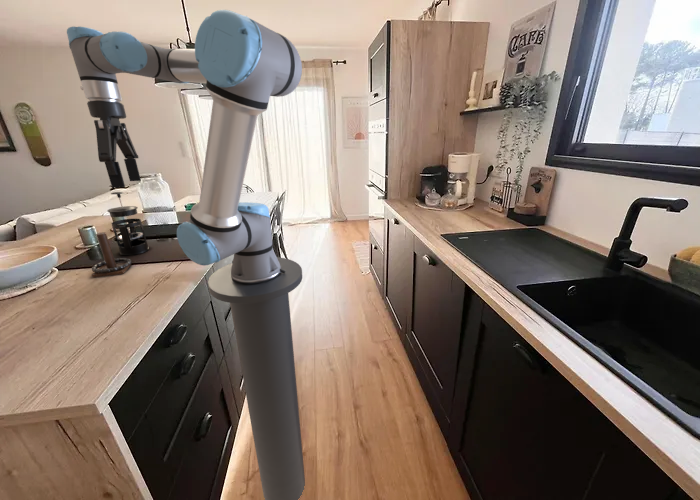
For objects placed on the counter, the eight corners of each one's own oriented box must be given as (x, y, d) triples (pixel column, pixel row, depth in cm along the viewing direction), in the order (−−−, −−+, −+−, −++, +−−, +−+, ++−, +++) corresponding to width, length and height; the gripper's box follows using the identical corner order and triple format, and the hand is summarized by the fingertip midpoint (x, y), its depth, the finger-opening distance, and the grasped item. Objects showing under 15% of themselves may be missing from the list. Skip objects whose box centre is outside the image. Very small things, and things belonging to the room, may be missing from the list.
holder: (131, 264, 100) (120, 228, 95) (123, 273, 93) (110, 235, 88) (103, 267, 97) (91, 231, 93) (92, 277, 90) (78, 238, 86)
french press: (124, 248, 115) (107, 190, 106) (152, 245, 118) (137, 189, 110) (115, 258, 104) (94, 195, 96) (145, 255, 108) (128, 194, 100)
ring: (135, 259, 102) (134, 255, 101) (126, 270, 93) (125, 267, 92) (100, 263, 98) (98, 260, 98) (86, 275, 89) (85, 272, 89)
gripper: (107, 106, 85) (127, 179, 92) (60, 94, 63) (91, 191, 70) (137, 106, 87) (154, 178, 95) (101, 95, 65) (127, 189, 73)
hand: (127, 184), depth 83 cm, fingers open, 13 cm apart
